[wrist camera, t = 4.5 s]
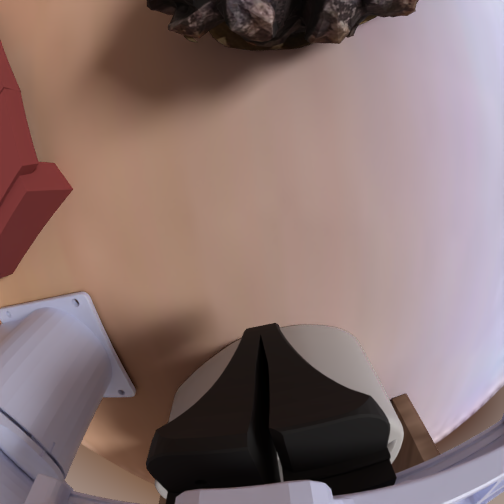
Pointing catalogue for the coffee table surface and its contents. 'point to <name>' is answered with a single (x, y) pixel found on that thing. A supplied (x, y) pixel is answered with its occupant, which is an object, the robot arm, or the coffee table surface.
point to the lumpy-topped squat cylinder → (316, 354)
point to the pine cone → (275, 20)
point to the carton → (22, 178)
